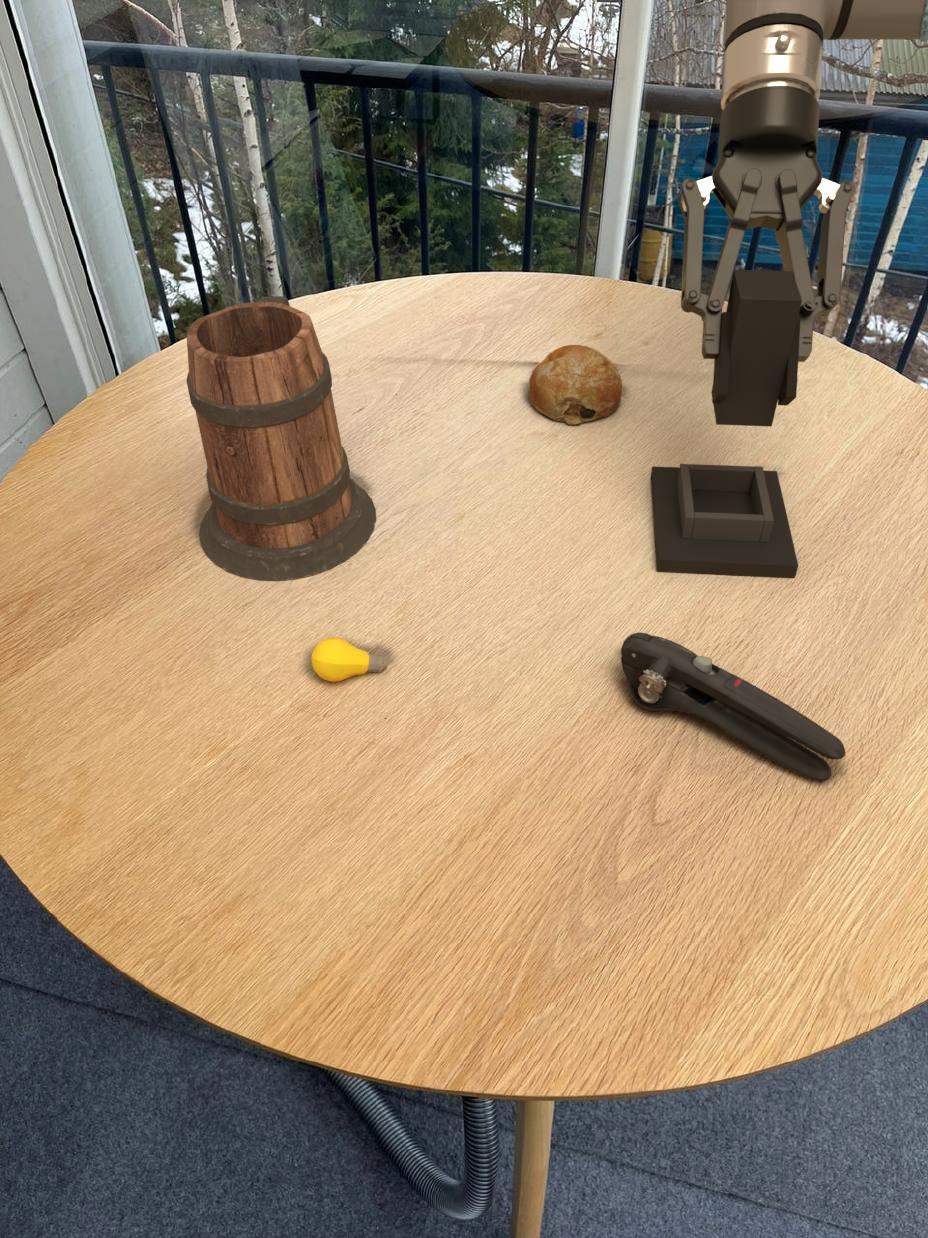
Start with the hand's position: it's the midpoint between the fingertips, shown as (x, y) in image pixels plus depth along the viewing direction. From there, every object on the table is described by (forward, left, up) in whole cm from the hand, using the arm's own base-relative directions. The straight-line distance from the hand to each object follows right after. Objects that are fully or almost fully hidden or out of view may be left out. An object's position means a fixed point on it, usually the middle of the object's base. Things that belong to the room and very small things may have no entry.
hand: (753, 399), depth 75 cm
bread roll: (+14, -24, -16) cm, 32 cm away
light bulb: (+31, +18, -16) cm, 39 cm away
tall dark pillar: (0, -4, -3) cm, 5 cm away
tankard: (+41, -4, -16) cm, 44 cm away
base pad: (0, -3, -16) cm, 16 cm away
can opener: (+2, +21, -16) cm, 26 cm away
